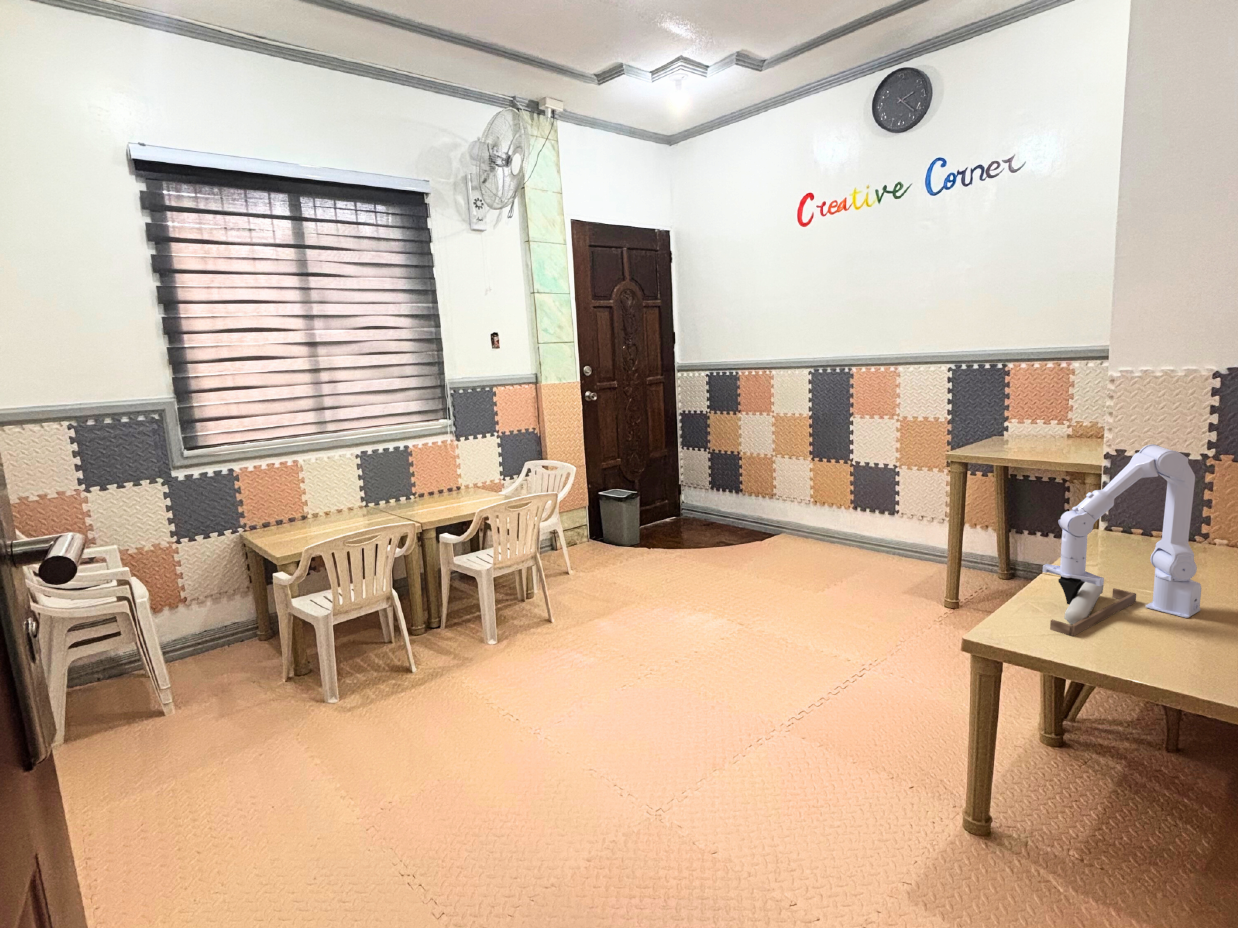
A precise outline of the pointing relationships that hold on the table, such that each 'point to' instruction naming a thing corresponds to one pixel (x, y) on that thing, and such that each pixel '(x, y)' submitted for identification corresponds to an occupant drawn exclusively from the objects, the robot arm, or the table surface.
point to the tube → (1083, 602)
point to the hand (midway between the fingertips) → (1070, 603)
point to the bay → (1096, 614)
